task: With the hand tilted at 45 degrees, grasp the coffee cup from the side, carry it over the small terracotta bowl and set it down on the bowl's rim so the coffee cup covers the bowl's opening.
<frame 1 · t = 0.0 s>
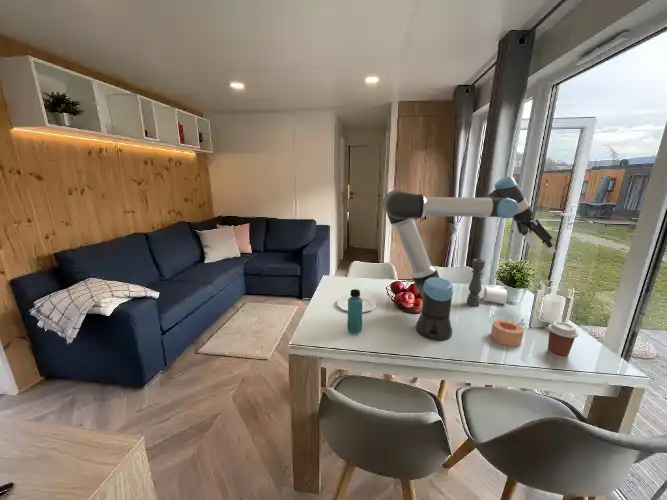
hand: (542, 248, 125), 36 cm above the table, tool tilted 35°, fingers open, 13 cm apart
beverage bottle: (354, 333, 123), on the table
terracotta bowl: (505, 338, 119), on the table
plate: (356, 306, 150), on the table
candle holder: (472, 304, 152), on the table
mug: (493, 301, 157), on the table
coffee cup: (557, 353, 110), on the table
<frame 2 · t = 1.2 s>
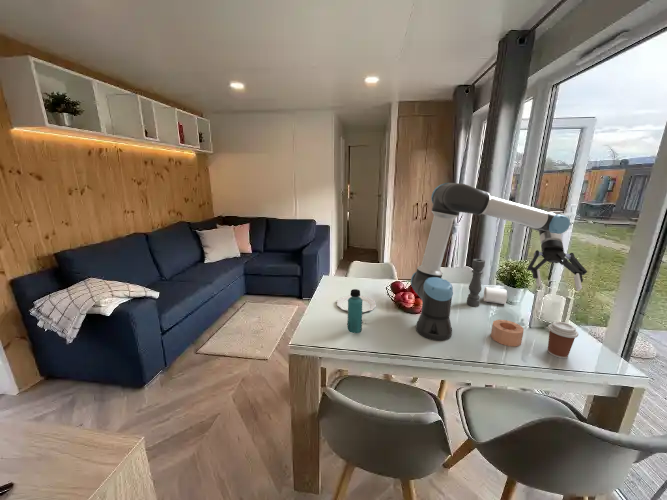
hand: (558, 287, 113), 24 cm above the table, tool tilted 45°, fingers open, 13 cm apart
nothing on the table moved.
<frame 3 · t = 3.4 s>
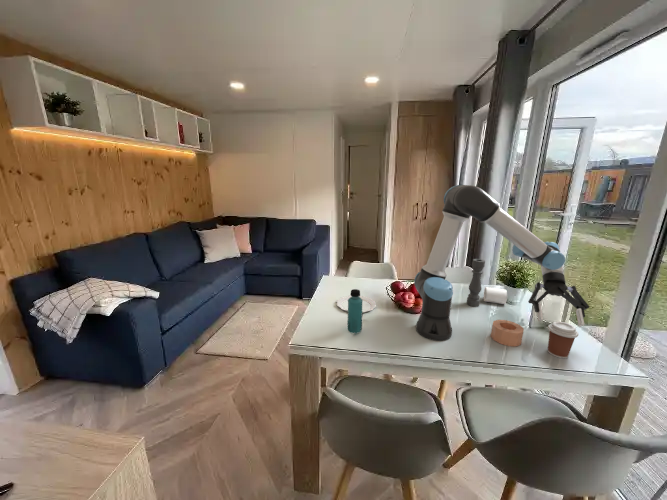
hand: (560, 322, 112), 11 cm above the table, tool tilted 45°, fingers open, 13 cm apart
nothing on the table moved.
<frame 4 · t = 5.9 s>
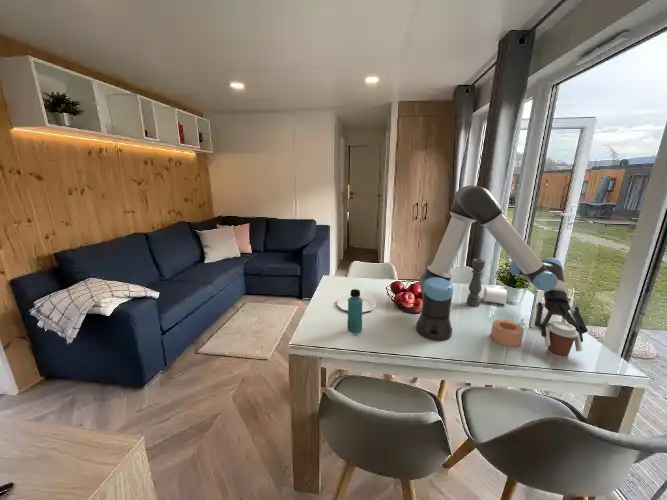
hand: (563, 347, 105), 4 cm above the table, tool tilted 45°, fingers closed on coffee cup, 9 cm apart
coffee cup: (557, 353, 110), on the table, touching gripper
everything else where it was.
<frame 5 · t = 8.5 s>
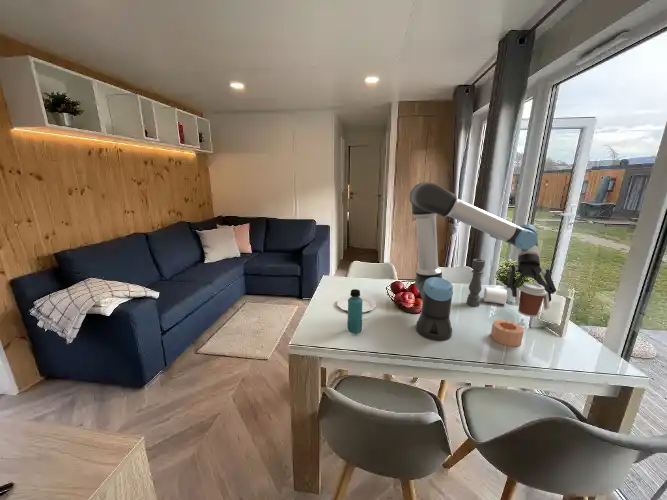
hand: (532, 306, 109), 18 cm above the table, tool tilted 45°, fingers closed on coffee cup, 9 cm apart
coffee cup: (527, 313, 113), point 13 cm above the table, touching gripper
everything else where it was.
when the fingers open (12 cm above the table, at t = 11.1 s): coffee cup drops 1 cm, resting on terracotta bowl.
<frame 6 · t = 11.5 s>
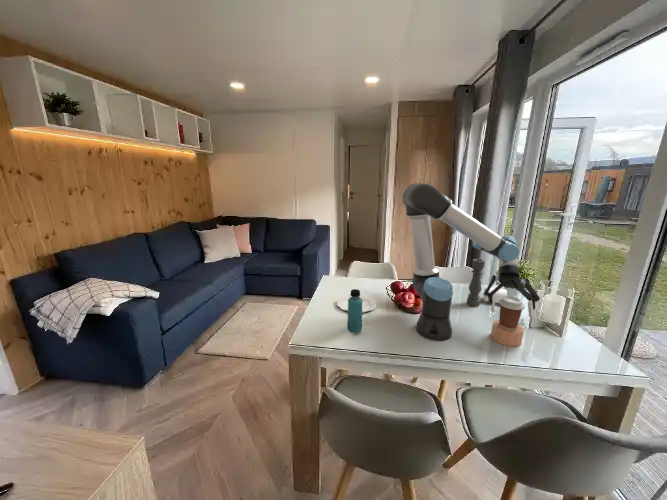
hand: (512, 314, 114), 13 cm above the table, tool tilted 45°, fingers open, 13 cm apart
coffee cup: (507, 326, 118), point 6 cm above the table, touching terracotta bowl
everything else where it was.
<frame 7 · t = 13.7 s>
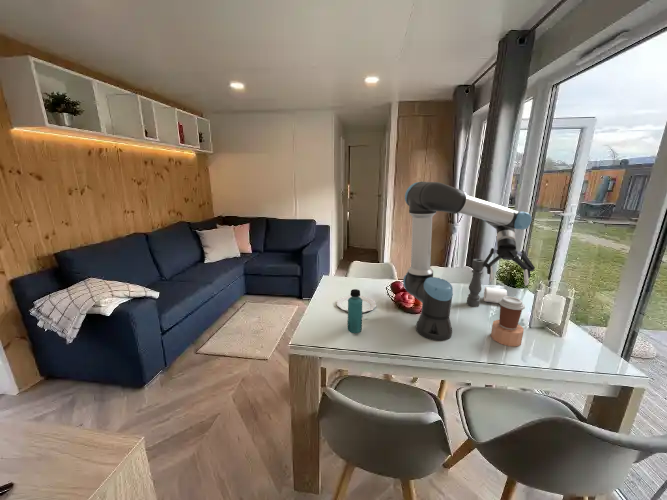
hand: (508, 282, 123), 22 cm above the table, tool tilted 45°, fingers open, 13 cm apart
nothing on the table moved.
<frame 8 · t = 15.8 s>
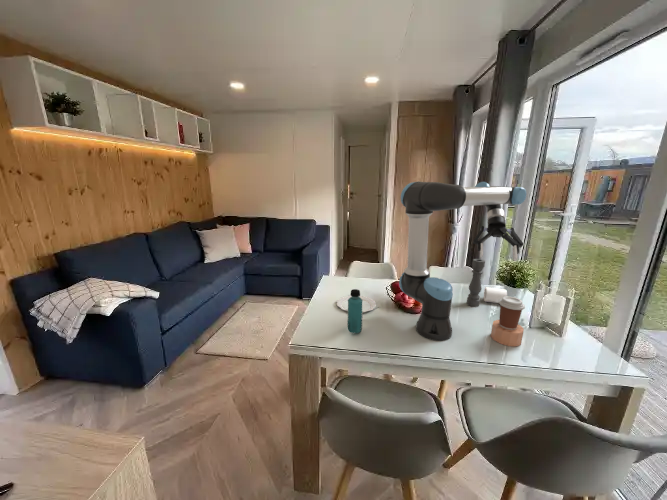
hand: (498, 258, 126), 32 cm above the table, tool tilted 45°, fingers open, 13 cm apart
nothing on the table moved.
at the end: coffee cup 0.1 cm off-centre on the terracotta bowl, point 5.8 cm above the terracotta bowl's base; coffee cup tilted 0°; the gripper is holding nothing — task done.
